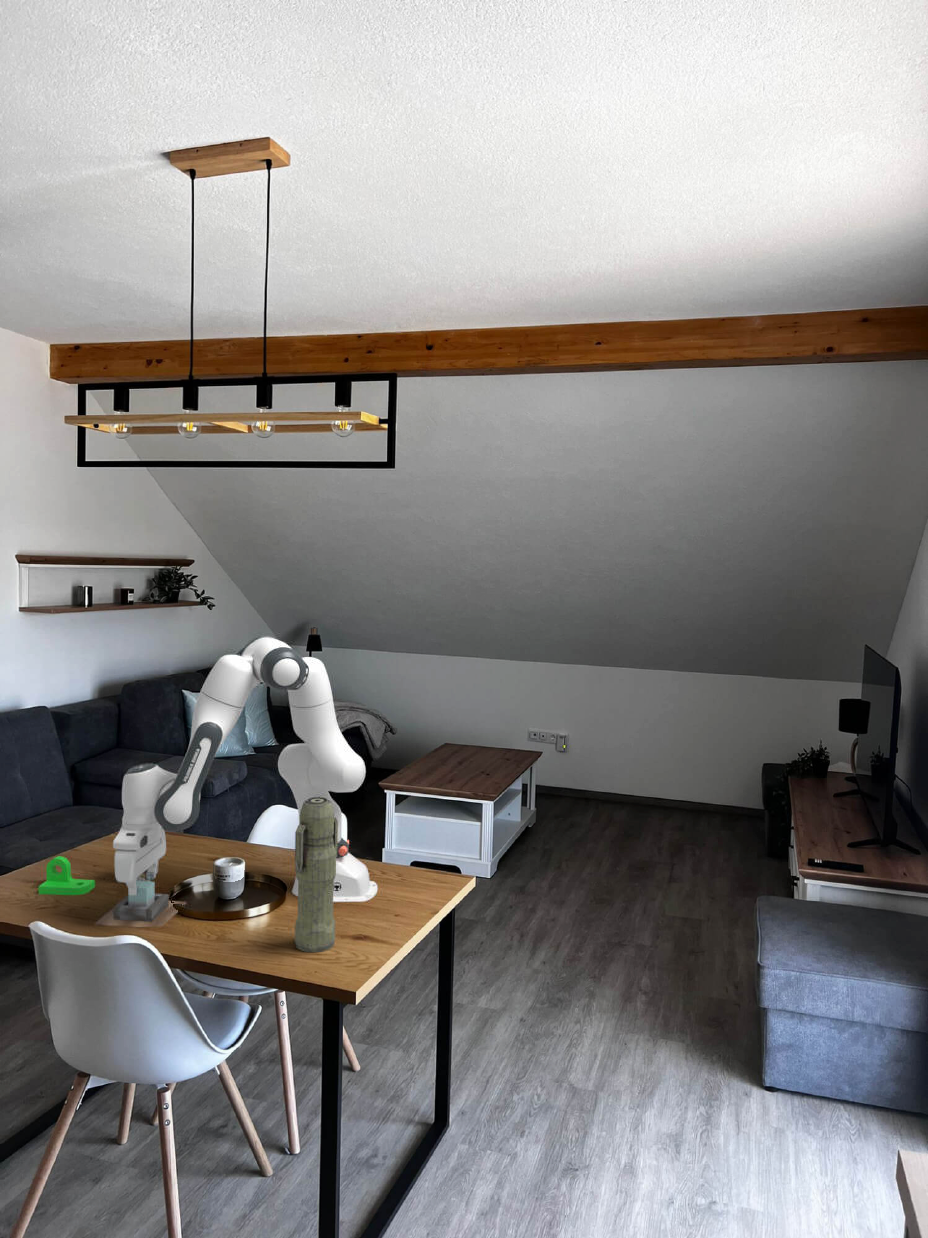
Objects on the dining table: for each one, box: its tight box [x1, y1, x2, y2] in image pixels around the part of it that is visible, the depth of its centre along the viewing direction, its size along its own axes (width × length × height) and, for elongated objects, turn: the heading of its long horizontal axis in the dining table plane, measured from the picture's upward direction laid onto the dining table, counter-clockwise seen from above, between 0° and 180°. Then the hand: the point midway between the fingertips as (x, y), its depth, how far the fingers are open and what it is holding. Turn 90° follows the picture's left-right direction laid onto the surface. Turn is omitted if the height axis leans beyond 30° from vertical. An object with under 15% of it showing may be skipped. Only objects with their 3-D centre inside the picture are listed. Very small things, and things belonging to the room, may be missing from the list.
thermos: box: [294, 797, 338, 953], centre depth 204 cm, size 9×12×35 cm
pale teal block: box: [127, 880, 156, 907], centre depth 221 cm, size 4×4×7 cm
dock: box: [93, 893, 187, 928], centre depth 221 cm, size 16×16×4 cm
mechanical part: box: [38, 855, 96, 896], centre depth 236 cm, size 12×6×8 cm, turn 87°
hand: (142, 886), depth 221 cm, fingers open, 8 cm apart
